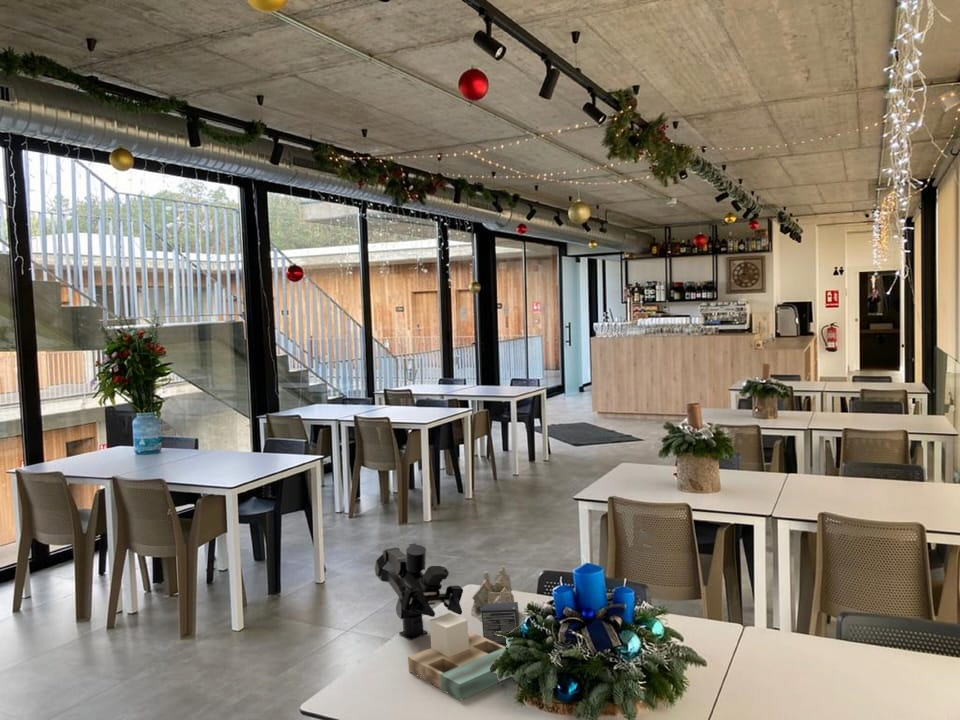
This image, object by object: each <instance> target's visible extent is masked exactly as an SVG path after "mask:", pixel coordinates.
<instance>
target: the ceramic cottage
mask: <svg viewBox="0 0 960 720" xmlns="http://www.w3.org/2000/svg"><path fill="white" fill-rule="evenodd" d="M510 577H511V576H510V573H508V574H507V572H506V566H505V565H502V566H501V568H500V569H499V571H498V573H495V574H494V584H492V583H491V582H490V581H491V579H490V572H489V571H484V572H483V582H482V583H481V585H480V586H479V587H478V589H477V590H476V591H475V592H474V594H473V595H472V597H471V598H472V600H473V603H472V606H471V610H470V611H471V614H470V615H471V616H472V617H473V616H474V618H475V617H476V618H477V620H478V621H479V620H480V623H482V613H481V609H482V605H483V603H507V602H515V598H514V595H513V593H512V592H513V588H512V586H511V578H510ZM476 618H475V619H476Z"/></svg>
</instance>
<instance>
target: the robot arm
mask: <svg viewBox="0 0 960 720" xmlns="http://www.w3.org/2000/svg"><path fill="white" fill-rule="evenodd" d="M426 558H427V549H426V547H425V546H423V545H420V544H416V543H409V544H408V547H406V551H405V553H404V552H403V551H402V550H400V547H392V548H386V549H384V550H383V551H382V554H381V555H380V556H379V557H378V558H377V559H376V562H375V567H374V570H375V571H374V572H375V576H376V577H377V578H378V580H380V581H381V582H384V583H388V585H389V584H390V586H391V588H392V590H393V591H394V593H395V594H396V596H397V597H398V599H397V602H396V606H395V611H396V615H397V616H398V617H399V619H400V620H402V629H403V630H402V631H399V632H398V635H400V634H401V635H400V636H402V637H404V638H406V639H408V640H414V639H416V638H419V637H422V636H424V635H427V634H428V631H427V630H425V629H424V620H423V615H425V616H428V617H431V618H432V617H433V618H435V616H436V613H435V611H434V609H433V608H432V607H431V605H436V604H439V603H443V606H444V607H445V608H446V609H447V610H448V611H451V612H452V613H455V614H457V615H458V616H460V615H462V614H463V609H462V607H461V606H462V605H461V604H460V602H461V599H462V596H463V593H464V589H463V587H461V586H460V585H449V586H447V587H446V590H445V593H441V591H440V590H442V586H443V585H442V584H441V583H442V582H443V580H447V578H448V576H449V575H450V574H449V570H448V569H447V568H446V567H445V566H442V565H431V566H428V567H427V569H426V566H427V565H426V560H427V559H426ZM422 571H425V572H424V573H423V572H422Z"/></svg>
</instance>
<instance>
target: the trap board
mask: <svg viewBox="0 0 960 720" xmlns="http://www.w3.org/2000/svg"><path fill="white" fill-rule="evenodd" d="M468 638H469V649H467V650H465V651H463V652H460V653H458V654H455V655H453V656H450V657H448V656H445V655H443V654H441V653H439V652H437V651H435V650H433V649H431V647H430V648H428V649H424V650H422V651H419V652H417V653H414V654H412V655H410V656H407V662H408V665H407V666H408V672H409V671H410V672H409V673H411V672H412V673H411V674H413V675H414V676H416V675H418V676H419V677H418V676H417V677H418V678H420V677H421V678H420V679H422V678H423V679H425V680H426V682H427V681H428V682H427V683H429V682H430V683H429V684H431V683H432V684H434V685H435V686H434V685H433V686H434V687H436V686H437V687H436V688H438V687H439V688H438V689H439V690H441V689H442V691H443V690H444V691H443V692H445V691H446V692H445V693H447V692H448V693H447V694H449V695H450V694H451V695H450V696H452V695H453V696H452V697H454V696H455V697H454V698H456V697H457V698H456V699H458V700H459V699H460V701H462V700H465V699H466V697H467V698H468V696H469V697H470V696H471V697H472V695H475V694H477V693H479V692H481V691H484V690H486V689H488V688H490V687H492V686H495V685H497V684H499V683H500V682H499V680H498V678H497V674H496V673H492V672H491V671H490V667H491V665H492V664H493V662H494V661H495V660H496V659H497V658H498V657H499V656H500V655H501V654H502V652H503V651H504V650H505V648H506V647H507V646H506V645H500V644H498V643H496V642H493V641H491V640H489V639H486V638H484V637H483V635H482V636H481V635H479V634H477V633H474V632H472V631H470V632H468ZM423 679H422V680H423ZM425 680H424V681H425ZM498 682H499V683H498ZM432 684H431V685H432ZM461 699H462V700H461Z"/></svg>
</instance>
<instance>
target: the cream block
mask: <svg viewBox="0 0 960 720" xmlns="http://www.w3.org/2000/svg"><path fill="white" fill-rule="evenodd" d="M468 633H469V627H468V619H466V618H464V617H461V616H460V615H456V614H453V613H451V612H449V613H448V612H447V613H445V614H442V615H439V616H437V617H433V618H431V619H429V634H430V645H431V647H430V648H431V649H433V650H435V651H437V652H439V653H441V654H443V655H445V656H448V657H450V656H453V655H455V654H458V653H460V652H463V651H465V650H467V649H469V638H468Z"/></svg>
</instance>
